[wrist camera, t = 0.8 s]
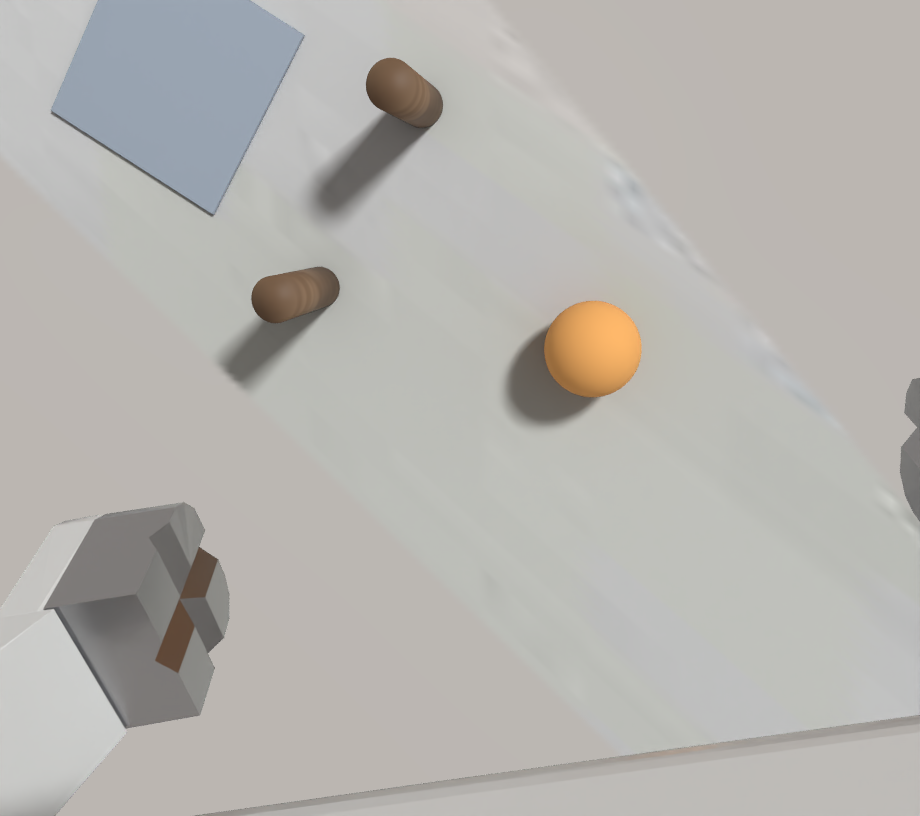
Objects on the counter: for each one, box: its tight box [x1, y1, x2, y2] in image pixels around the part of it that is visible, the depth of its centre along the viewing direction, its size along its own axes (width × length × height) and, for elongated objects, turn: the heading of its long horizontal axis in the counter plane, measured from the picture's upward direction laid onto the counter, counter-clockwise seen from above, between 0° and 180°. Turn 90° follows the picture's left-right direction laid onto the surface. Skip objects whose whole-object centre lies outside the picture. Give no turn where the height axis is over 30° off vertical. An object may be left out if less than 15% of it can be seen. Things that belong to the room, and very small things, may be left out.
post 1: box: [251, 267, 340, 323], centre depth 48 cm, size 2×2×8 cm
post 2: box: [366, 58, 443, 128], centre depth 45 cm, size 2×2×8 cm
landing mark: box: [51, 0, 305, 214], centre depth 51 cm, size 12×12×1 cm
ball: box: [544, 301, 641, 397], centre depth 48 cm, size 6×6×6 cm
